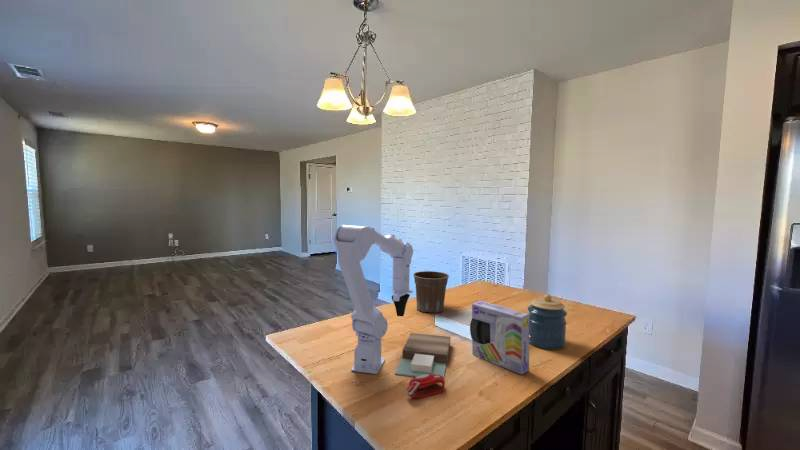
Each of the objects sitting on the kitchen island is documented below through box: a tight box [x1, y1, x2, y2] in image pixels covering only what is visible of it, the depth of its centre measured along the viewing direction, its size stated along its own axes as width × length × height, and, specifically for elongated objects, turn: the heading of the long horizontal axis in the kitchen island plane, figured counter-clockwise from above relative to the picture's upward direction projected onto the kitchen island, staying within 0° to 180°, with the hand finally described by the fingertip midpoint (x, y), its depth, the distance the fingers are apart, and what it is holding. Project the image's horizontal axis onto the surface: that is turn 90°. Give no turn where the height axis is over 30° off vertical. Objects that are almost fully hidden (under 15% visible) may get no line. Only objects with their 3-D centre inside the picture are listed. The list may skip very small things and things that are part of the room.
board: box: [401, 332, 451, 365], centre depth 116 cm, size 14×14×3 cm
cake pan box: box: [469, 300, 530, 375], centre depth 109 cm, size 19×5×18 cm, turn 40°
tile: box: [411, 354, 434, 373], centre depth 105 cm, size 7×6×2 cm
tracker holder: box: [405, 374, 446, 399], centre depth 93 cm, size 12×4×10 cm
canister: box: [527, 293, 568, 351], centre depth 124 cm, size 13×13×18 cm
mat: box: [394, 358, 447, 379], centre depth 104 cm, size 10×14×1 cm
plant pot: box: [412, 270, 450, 314], centre depth 159 cm, size 16×16×16 cm
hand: (400, 315), depth 120 cm, fingers closed
